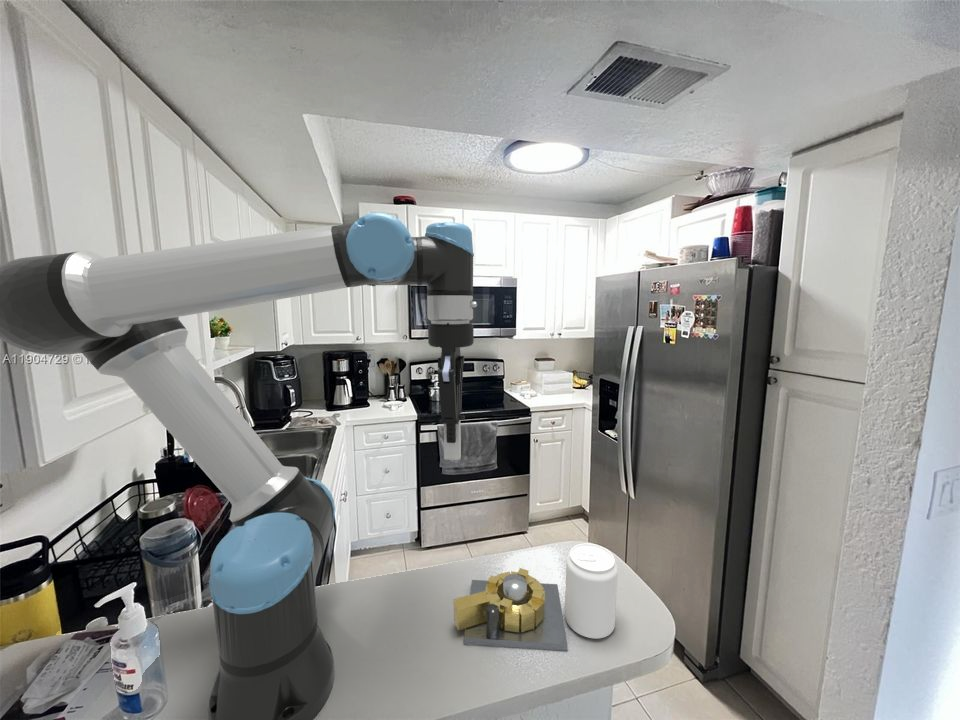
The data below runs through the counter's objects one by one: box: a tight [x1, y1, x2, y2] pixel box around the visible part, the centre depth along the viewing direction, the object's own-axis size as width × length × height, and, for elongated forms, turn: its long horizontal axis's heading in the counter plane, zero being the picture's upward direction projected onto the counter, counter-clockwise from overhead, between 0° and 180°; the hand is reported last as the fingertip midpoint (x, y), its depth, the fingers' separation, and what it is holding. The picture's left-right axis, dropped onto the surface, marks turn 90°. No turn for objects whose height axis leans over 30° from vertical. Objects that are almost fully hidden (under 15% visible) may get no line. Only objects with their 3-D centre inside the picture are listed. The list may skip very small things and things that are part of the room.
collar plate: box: [463, 573, 568, 652], centre depth 67 cm, size 16×13×6 cm
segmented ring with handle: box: [453, 567, 545, 632], centre depth 66 cm, size 16×10×4 cm, turn 110°
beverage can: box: [564, 542, 619, 640], centre depth 65 cm, size 8×8×12 cm
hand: (452, 457), depth 68 cm, fingers closed
